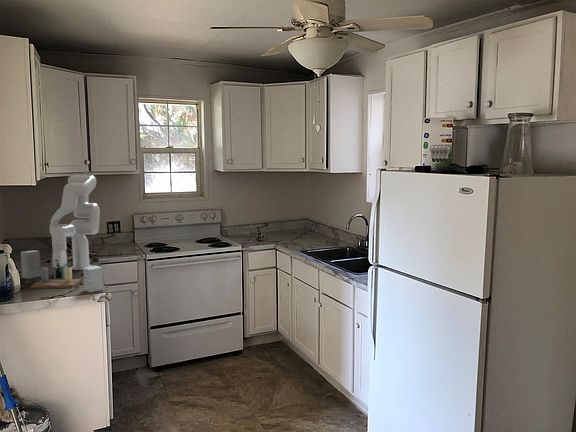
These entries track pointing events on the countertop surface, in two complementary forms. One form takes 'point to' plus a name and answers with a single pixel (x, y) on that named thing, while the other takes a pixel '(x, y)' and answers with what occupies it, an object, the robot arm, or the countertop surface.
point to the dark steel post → (44, 275)
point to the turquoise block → (61, 271)
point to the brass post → (68, 275)
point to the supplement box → (93, 278)
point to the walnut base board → (56, 283)
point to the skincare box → (30, 264)
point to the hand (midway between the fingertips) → (61, 276)
